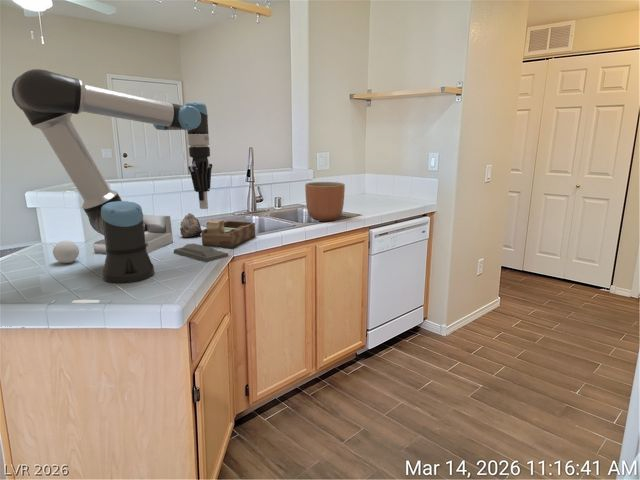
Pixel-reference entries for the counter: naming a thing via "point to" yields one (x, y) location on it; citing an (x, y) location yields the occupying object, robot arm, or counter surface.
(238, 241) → the trap box
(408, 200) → the counter surface
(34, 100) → the robot arm
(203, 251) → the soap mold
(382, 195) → the counter surface
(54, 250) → the ball
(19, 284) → the counter surface
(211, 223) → the block
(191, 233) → the rock
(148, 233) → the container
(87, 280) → the counter surface
